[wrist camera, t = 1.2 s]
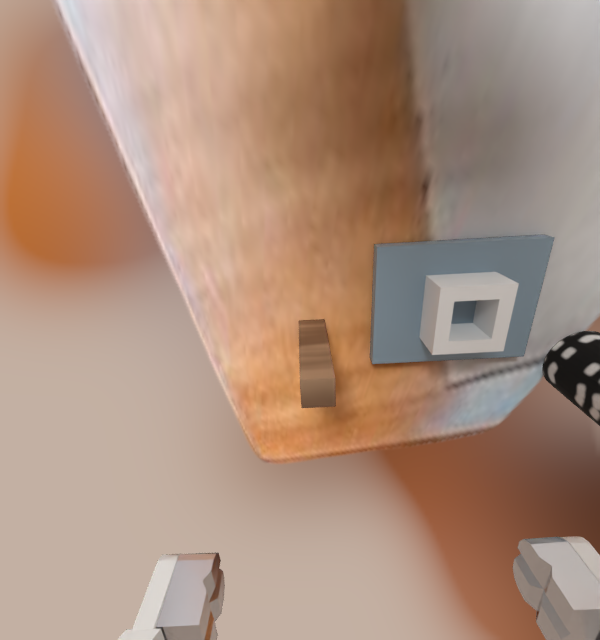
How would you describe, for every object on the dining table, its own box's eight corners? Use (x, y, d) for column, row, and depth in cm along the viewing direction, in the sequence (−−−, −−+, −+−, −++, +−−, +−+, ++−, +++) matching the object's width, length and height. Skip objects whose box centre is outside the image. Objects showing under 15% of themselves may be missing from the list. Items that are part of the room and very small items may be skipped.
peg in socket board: (374, 244, 36) (387, 256, 31) (544, 234, 36) (585, 245, 31) (369, 357, 42) (379, 383, 37) (516, 349, 41) (546, 375, 36)
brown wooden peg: (298, 320, 39) (299, 379, 28) (324, 319, 39) (335, 378, 28) (300, 343, 41) (301, 408, 30) (324, 341, 41) (335, 406, 30)
